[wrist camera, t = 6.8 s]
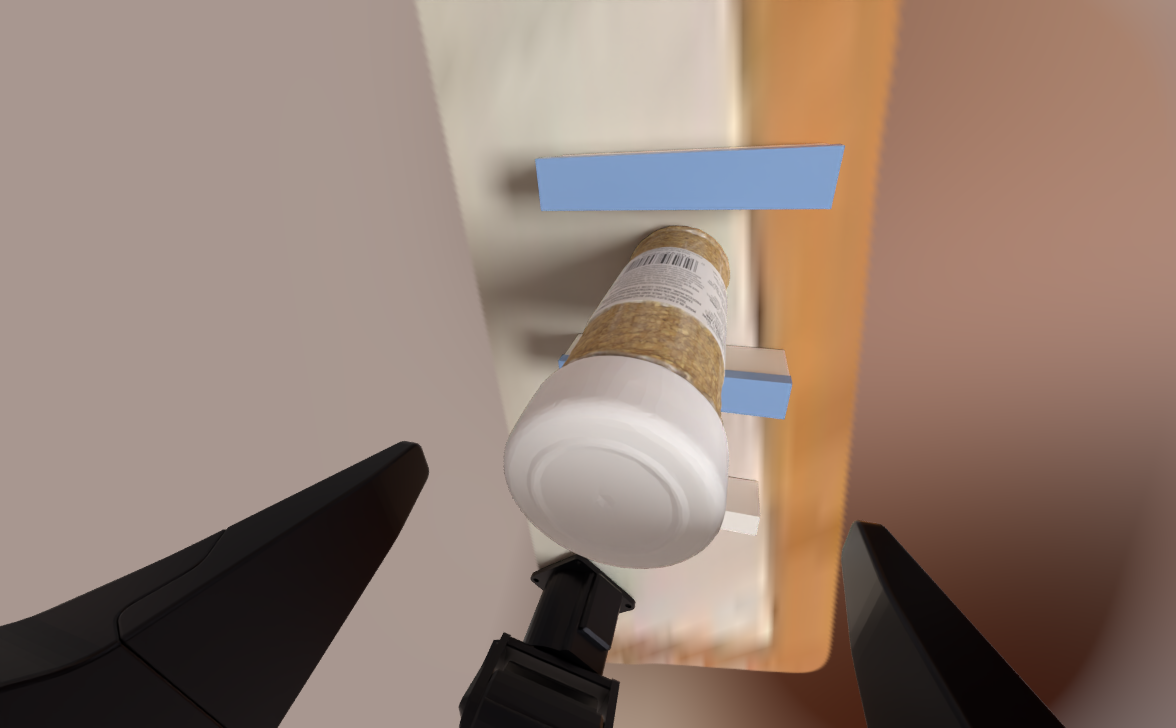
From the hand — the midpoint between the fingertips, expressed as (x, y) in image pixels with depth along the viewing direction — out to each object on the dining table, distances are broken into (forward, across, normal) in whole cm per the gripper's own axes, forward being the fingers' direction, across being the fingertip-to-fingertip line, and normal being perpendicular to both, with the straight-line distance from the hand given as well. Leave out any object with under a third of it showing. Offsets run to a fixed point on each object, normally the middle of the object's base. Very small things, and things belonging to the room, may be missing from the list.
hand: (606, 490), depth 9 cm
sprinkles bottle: (+13, 0, 0) cm, 13 cm away
